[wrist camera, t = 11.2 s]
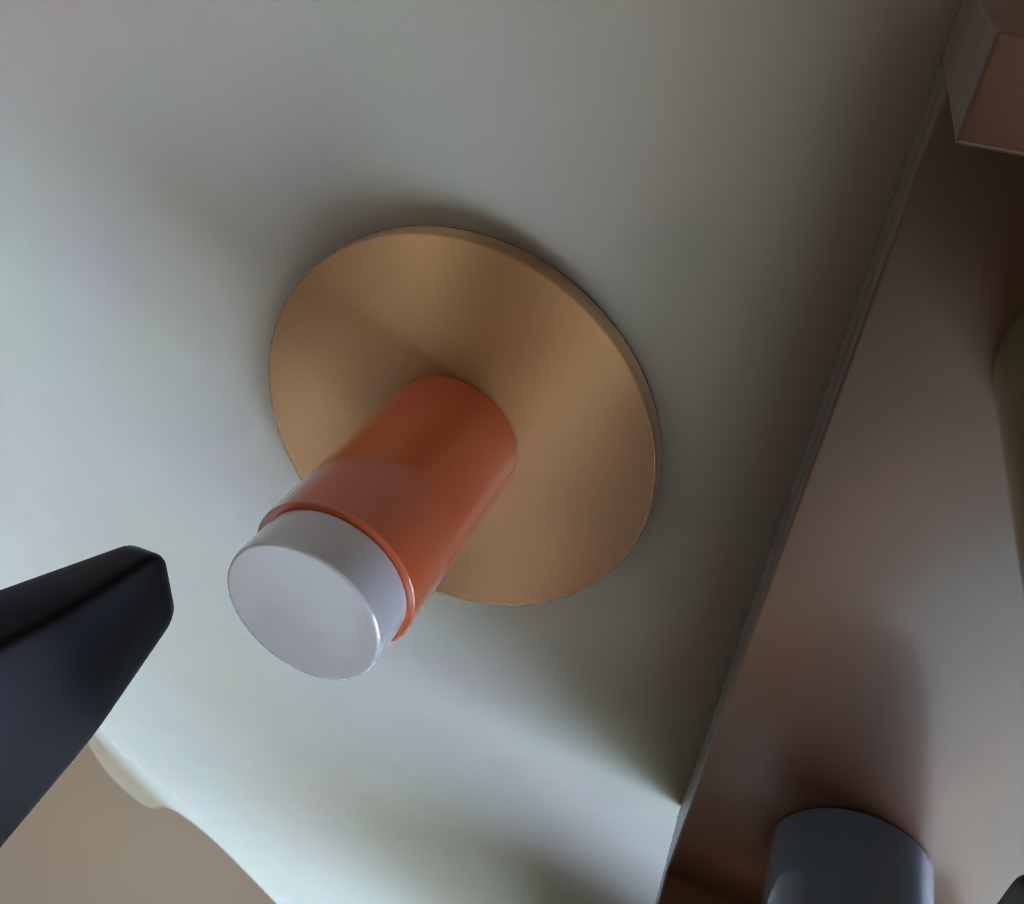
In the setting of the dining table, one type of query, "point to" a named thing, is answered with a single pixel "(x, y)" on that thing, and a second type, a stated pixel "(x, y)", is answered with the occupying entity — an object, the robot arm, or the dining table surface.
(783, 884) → the cylinder
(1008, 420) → the cylinder
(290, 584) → the terracotta shaker
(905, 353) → the spice shelf
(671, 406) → the dining table surface
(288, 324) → the cork trivet
